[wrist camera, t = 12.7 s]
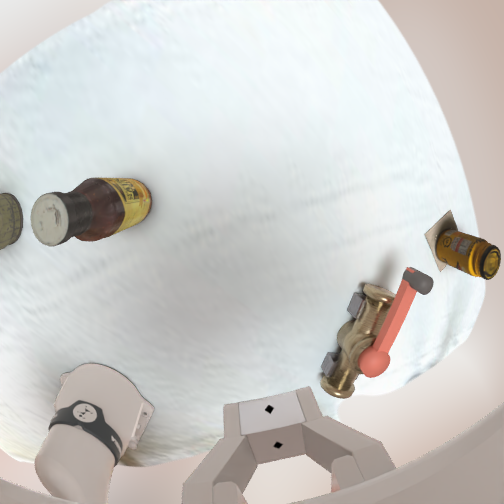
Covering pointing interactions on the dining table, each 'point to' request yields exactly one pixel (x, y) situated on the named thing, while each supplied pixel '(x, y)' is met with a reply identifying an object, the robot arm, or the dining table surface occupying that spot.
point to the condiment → (462, 249)
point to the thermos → (9, 220)
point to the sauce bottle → (90, 210)
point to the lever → (393, 322)
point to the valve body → (355, 339)
